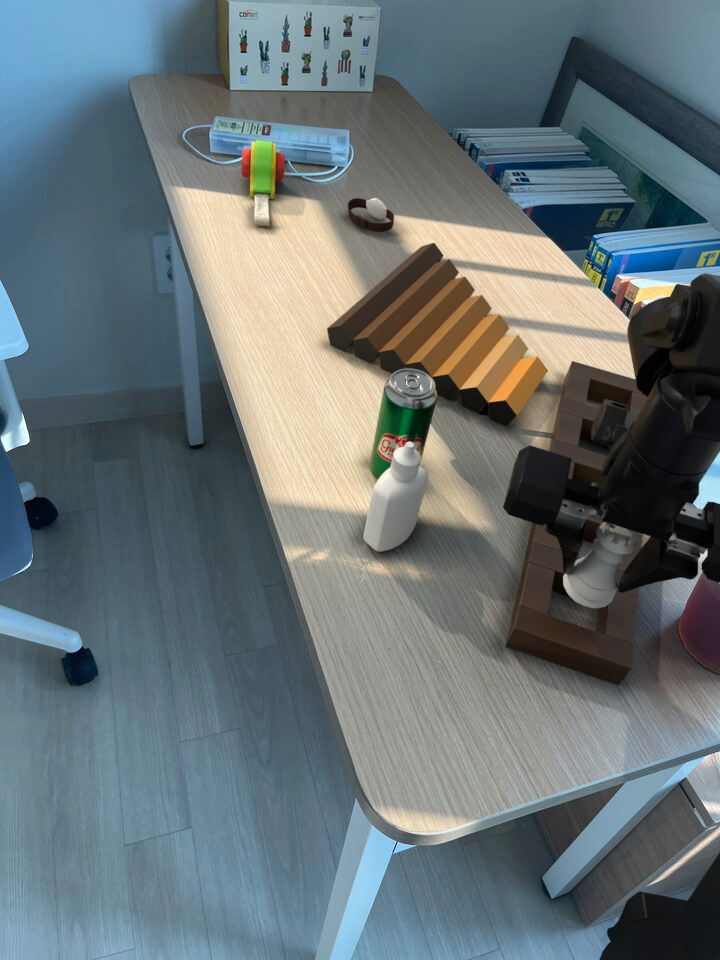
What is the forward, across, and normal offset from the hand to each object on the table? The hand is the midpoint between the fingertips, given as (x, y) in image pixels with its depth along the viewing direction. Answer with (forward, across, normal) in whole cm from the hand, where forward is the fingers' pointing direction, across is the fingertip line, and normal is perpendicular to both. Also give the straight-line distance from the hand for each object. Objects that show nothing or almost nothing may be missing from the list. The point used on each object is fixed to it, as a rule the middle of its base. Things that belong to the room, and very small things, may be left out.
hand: (593, 578), depth 63 cm
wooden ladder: (+6, 0, -15) cm, 17 cm away
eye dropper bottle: (+7, +18, -3) cm, 19 cm away
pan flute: (+6, +19, -38) cm, 43 cm away
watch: (+6, +38, -59) cm, 71 cm away
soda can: (+7, +20, -11) cm, 24 cm away
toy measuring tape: (+6, +55, -58) cm, 81 cm away
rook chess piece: (+2, 0, 0) cm, 2 cm away
